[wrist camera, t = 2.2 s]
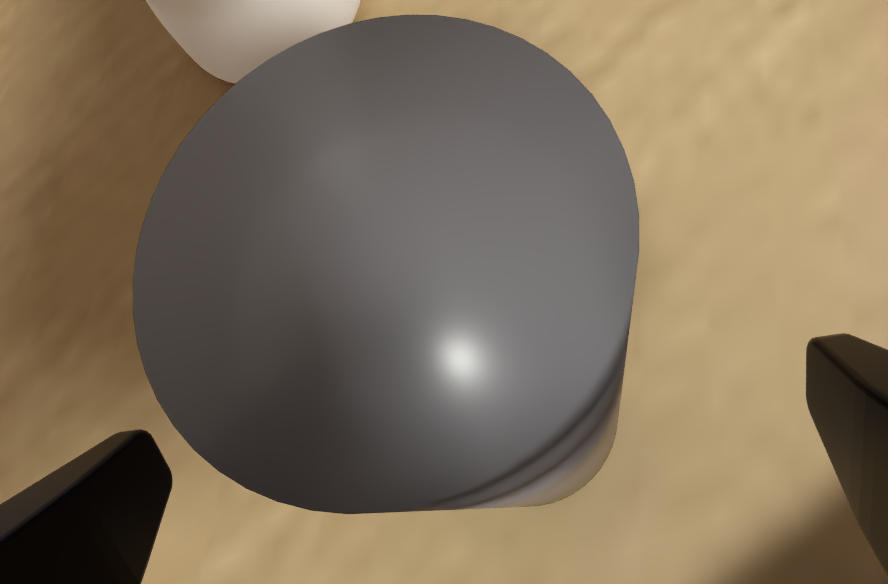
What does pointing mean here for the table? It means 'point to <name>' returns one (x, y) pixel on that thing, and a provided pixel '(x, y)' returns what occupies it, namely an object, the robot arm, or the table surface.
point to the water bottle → (246, 29)
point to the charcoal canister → (395, 274)
